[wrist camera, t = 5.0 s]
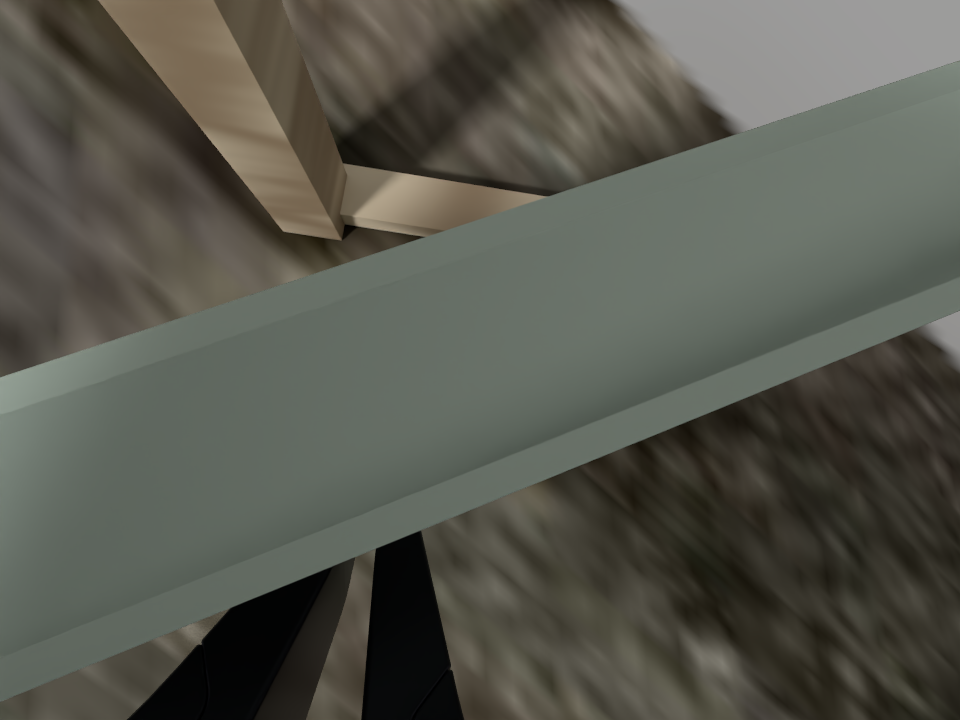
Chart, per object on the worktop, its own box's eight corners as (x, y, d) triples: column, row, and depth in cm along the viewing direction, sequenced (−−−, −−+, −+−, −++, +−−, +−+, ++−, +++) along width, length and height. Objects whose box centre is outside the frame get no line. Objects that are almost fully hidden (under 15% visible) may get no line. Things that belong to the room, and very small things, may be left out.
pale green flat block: (690, 298, 16) (1420, -92, 4) (710, 344, 16) (1536, 76, 4) (269, 455, 14) (-626, 584, 2) (286, 508, 14) (-589, 943, 2)
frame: (750, 240, 18) (1777, -395, 4) (744, 354, 17) (1950, 48, 3) (282, 165, 17) (-413, -981, 3) (257, 281, 16) (-751, -527, 3)
